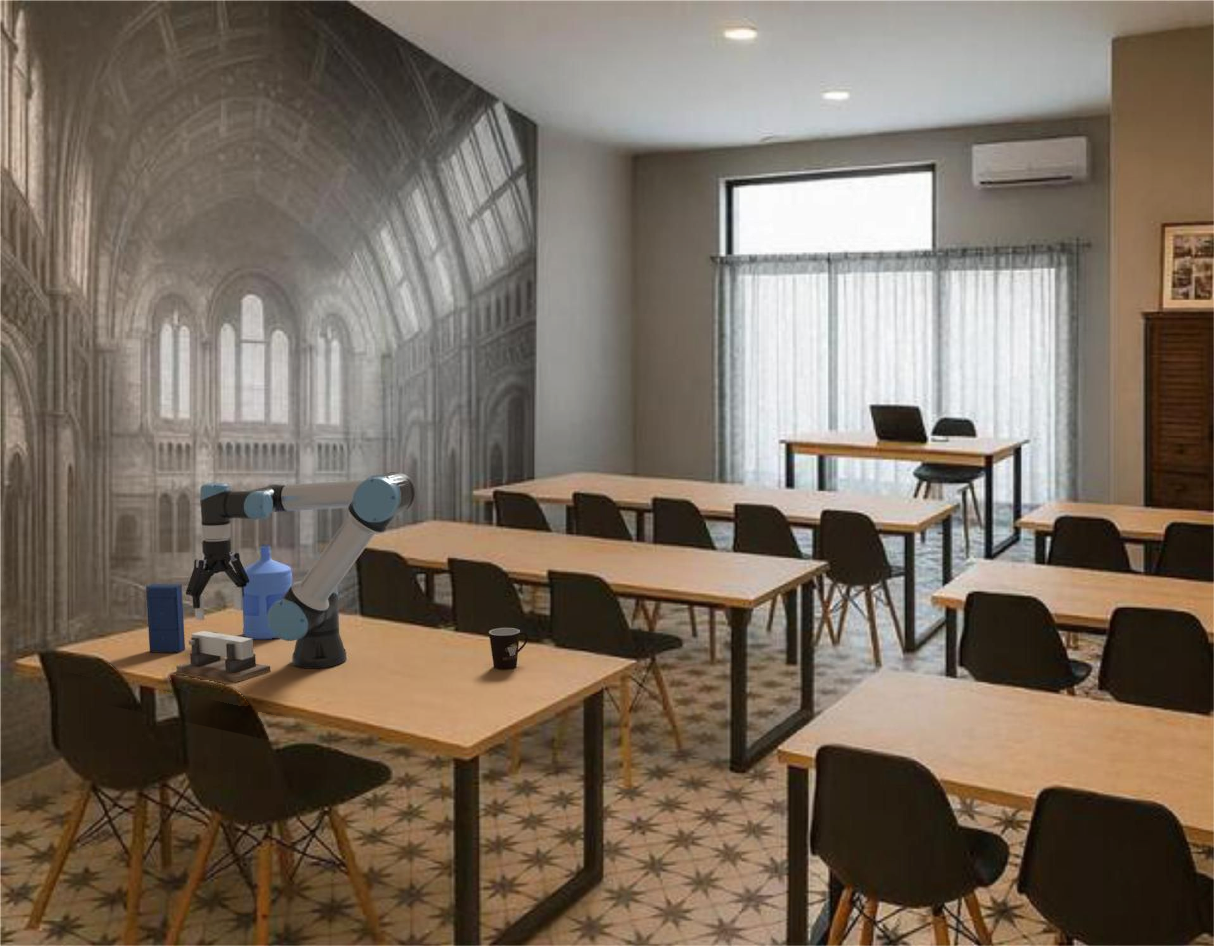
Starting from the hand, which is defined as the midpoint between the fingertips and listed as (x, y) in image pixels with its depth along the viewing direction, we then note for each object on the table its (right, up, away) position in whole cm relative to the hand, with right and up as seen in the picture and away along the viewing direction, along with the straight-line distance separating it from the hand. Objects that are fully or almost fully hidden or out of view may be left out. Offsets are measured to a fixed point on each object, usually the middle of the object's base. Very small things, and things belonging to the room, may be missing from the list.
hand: (219, 614), depth 316 cm
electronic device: (-24, -14, +25) cm, 37 cm away
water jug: (+1, -12, +44) cm, 46 cm away
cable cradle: (+1, -16, +2) cm, 16 cm away
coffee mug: (+81, -15, +3) cm, 82 cm away
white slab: (0, -11, +1) cm, 11 cm away
